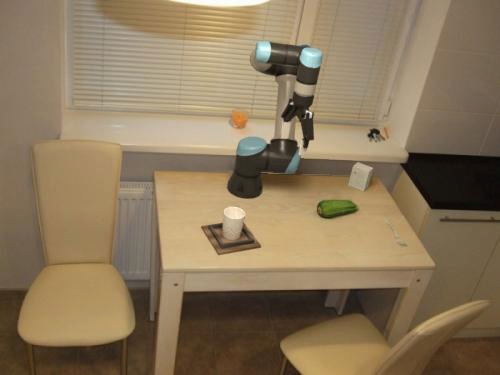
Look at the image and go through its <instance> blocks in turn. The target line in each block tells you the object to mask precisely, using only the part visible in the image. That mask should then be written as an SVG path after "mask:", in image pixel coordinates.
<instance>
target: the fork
mask: <svg viewBox="0 0 500 375" xmlns="http://www.w3.org/2000/svg"><path fill="white" fill-rule="evenodd" d="M383 219H384V221H385V222H386V223H387V225H388V226H389V227H390V228H391V229H392V231H394V238H395V236H396V238H397V236H398V238H399V237H400V236H399V234H398V233H397V231H396V229H395V228H394V227H393V225H392V224H391V222H390V221H389V219H388V217H386V216H384V217H383ZM398 238H397V239H395V241H396V242H397V243H399V245H406V246H408V244H407V243H406V242H405V241H404V240H403V239H398Z"/></svg>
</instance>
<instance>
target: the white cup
mask: <svg viewBox="0 0 500 375" xmlns="http://www.w3.org/2000/svg"><path fill="white" fill-rule="evenodd" d="M222 217H223V218H222V223H223V231H222V235H223V237H224V238H226V239H228V240H236V239H238V238H239V237H240V234H241V231H242V227H243V223H245V218H246V212H245V210H243V209H242V208H240V207H238V206H237V207H236V206H228V207H226V208H225V209H224V210H223V216H222Z"/></svg>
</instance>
